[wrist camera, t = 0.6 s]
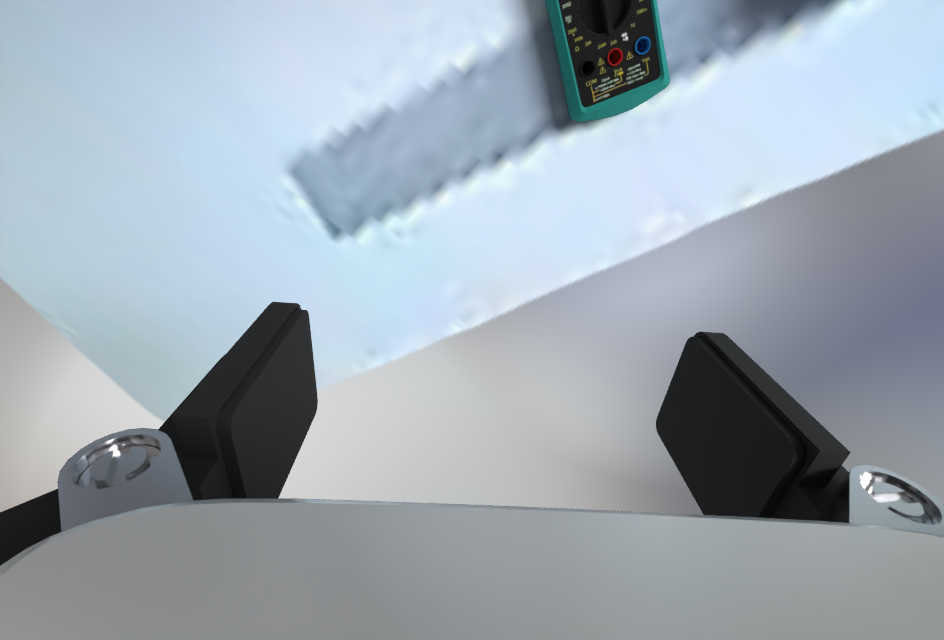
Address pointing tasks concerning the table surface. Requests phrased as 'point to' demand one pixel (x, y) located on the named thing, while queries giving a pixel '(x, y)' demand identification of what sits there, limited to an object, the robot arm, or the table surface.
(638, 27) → the digital multimeter
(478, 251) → the table surface
